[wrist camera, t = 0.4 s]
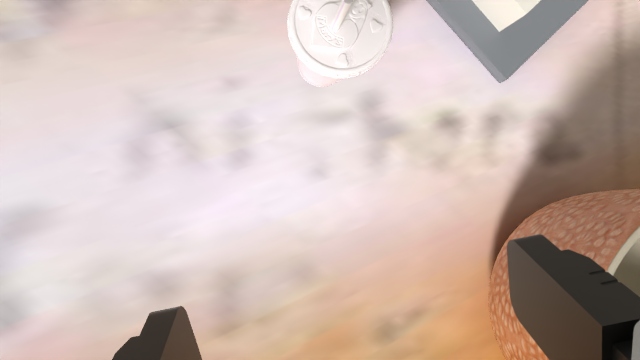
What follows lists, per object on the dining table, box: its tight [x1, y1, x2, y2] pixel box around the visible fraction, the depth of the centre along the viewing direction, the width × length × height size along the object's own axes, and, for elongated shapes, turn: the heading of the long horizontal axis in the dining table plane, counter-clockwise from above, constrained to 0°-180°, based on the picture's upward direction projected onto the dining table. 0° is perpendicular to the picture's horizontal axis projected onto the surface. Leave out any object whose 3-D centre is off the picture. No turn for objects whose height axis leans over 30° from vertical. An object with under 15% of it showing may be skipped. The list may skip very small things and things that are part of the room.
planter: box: [489, 189, 640, 360], centre depth 33 cm, size 17×17×15 cm
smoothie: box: [287, 0, 393, 87], centre depth 32 cm, size 6×6×14 cm
